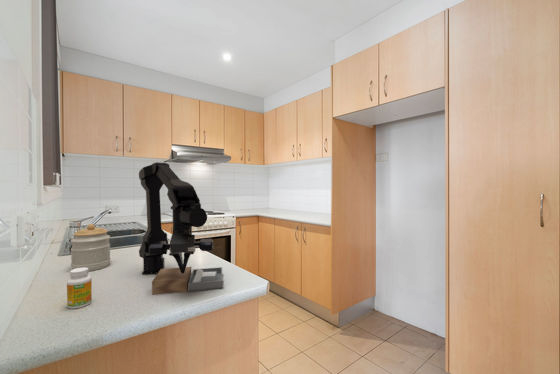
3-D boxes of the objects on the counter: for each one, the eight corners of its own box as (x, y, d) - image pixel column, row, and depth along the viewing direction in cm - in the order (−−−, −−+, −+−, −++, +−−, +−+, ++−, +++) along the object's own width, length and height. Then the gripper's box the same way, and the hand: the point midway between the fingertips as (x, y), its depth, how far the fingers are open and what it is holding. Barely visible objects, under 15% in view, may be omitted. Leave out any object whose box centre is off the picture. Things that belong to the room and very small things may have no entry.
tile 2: (196, 272, 80) (202, 274, 81) (197, 268, 85) (203, 270, 85) (190, 286, 80) (197, 288, 80) (192, 281, 84) (198, 283, 85)
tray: (188, 291, 79) (187, 283, 79) (192, 276, 93) (192, 269, 93) (222, 288, 82) (222, 280, 82) (222, 273, 95) (222, 267, 95)
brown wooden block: (152, 294, 77) (151, 281, 77) (161, 280, 89) (160, 268, 89) (187, 291, 80) (187, 278, 80) (191, 277, 91) (191, 266, 91)
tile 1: (214, 275, 86) (214, 281, 86) (216, 271, 90) (216, 277, 90) (200, 276, 85) (200, 282, 85) (203, 272, 90) (203, 277, 90)
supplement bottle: (72, 311, 68) (71, 274, 68) (63, 306, 70) (63, 270, 70) (95, 303, 72) (94, 268, 72) (86, 298, 75) (86, 265, 75)
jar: (86, 274, 96) (85, 227, 96) (62, 270, 100) (62, 225, 100) (118, 264, 109) (117, 222, 108) (96, 261, 113) (95, 221, 113)
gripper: (142, 229, 72) (143, 285, 72) (211, 226, 76) (212, 279, 76) (153, 224, 83) (153, 272, 83) (212, 221, 87) (213, 267, 87)
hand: (182, 273), depth 82 cm, fingers closed
